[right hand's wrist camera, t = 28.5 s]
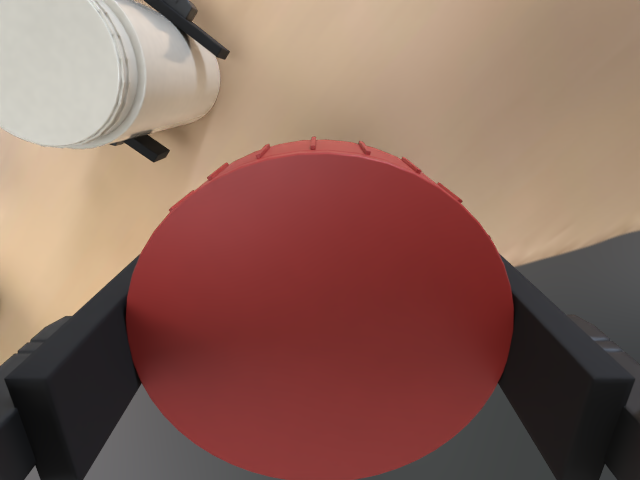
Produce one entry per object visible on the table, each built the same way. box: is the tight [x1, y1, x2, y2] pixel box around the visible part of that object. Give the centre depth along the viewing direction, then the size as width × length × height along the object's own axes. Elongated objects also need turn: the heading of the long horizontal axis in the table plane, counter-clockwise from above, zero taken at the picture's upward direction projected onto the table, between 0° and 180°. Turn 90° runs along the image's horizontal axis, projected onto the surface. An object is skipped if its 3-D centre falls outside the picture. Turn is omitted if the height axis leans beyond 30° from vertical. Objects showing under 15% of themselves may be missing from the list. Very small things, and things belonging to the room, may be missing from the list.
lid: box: [126, 137, 514, 480], centre depth 11 cm, size 10×10×2 cm
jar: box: [0, 0, 220, 149], centre depth 28 cm, size 9×9×19 cm
